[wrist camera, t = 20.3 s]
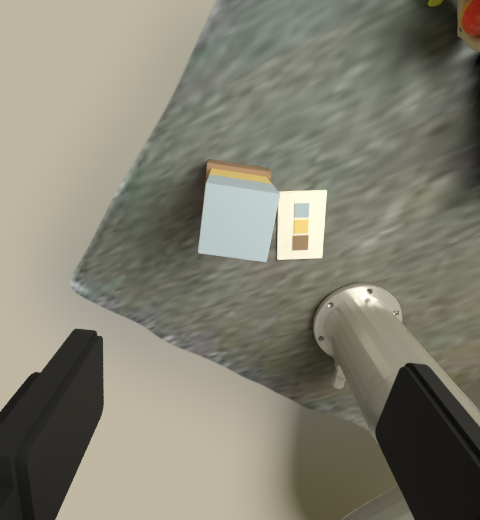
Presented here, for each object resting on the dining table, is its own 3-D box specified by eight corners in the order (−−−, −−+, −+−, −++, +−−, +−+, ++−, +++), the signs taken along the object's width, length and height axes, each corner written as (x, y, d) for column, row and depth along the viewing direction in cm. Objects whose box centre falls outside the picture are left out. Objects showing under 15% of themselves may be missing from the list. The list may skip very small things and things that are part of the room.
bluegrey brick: (261, 243, 33) (266, 262, 29) (202, 235, 33) (197, 253, 28) (272, 184, 31) (280, 193, 26) (209, 174, 30) (205, 182, 26)
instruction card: (321, 257, 44) (322, 258, 43) (277, 259, 44) (277, 260, 43) (326, 189, 40) (327, 190, 40) (277, 191, 40) (278, 192, 40)
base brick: (257, 224, 42) (260, 233, 38) (203, 216, 41) (200, 225, 37) (267, 168, 39) (271, 172, 35) (209, 159, 39) (207, 162, 35)
